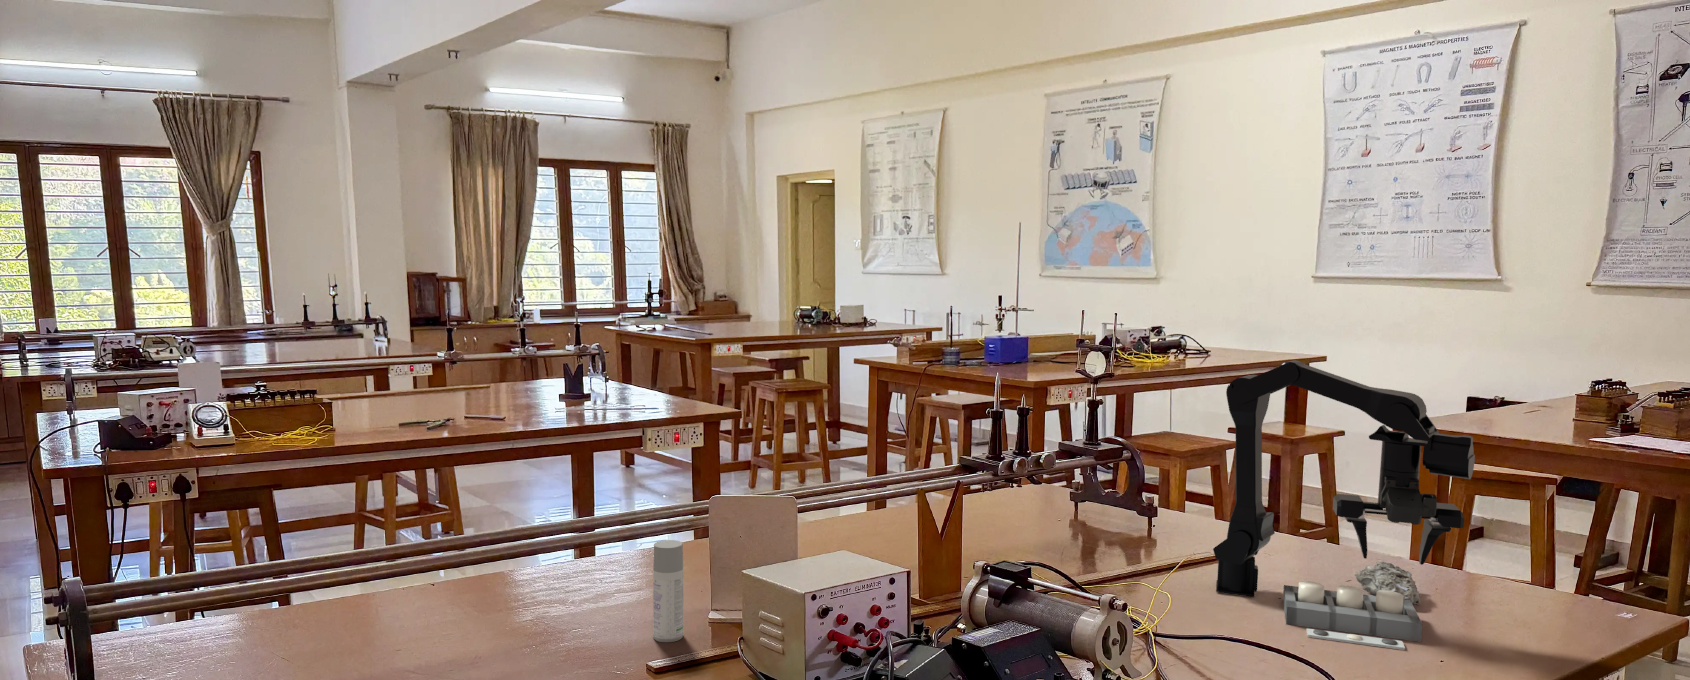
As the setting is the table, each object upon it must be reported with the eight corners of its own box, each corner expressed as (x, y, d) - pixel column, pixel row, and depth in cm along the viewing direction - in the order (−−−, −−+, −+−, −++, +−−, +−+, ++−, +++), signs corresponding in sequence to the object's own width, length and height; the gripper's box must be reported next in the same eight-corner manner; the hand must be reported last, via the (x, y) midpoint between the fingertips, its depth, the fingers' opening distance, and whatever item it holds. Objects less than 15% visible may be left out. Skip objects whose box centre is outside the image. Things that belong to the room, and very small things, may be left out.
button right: (1376, 617, 172) (1378, 596, 171) (1373, 609, 175) (1375, 588, 175) (1403, 620, 170) (1405, 599, 170) (1400, 612, 174) (1401, 592, 174)
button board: (1286, 623, 173) (1287, 606, 173) (1282, 601, 184) (1283, 584, 184) (1420, 641, 166) (1422, 623, 166) (1408, 617, 177) (1410, 600, 177)
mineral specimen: (1412, 593, 192) (1434, 611, 180) (1349, 590, 194) (1367, 607, 182) (1412, 562, 192) (1434, 577, 180) (1349, 559, 194) (1367, 574, 182)
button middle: (1337, 612, 174) (1338, 591, 173) (1334, 604, 177) (1336, 584, 177) (1363, 615, 172) (1364, 594, 172) (1360, 607, 176) (1361, 587, 176)
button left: (1298, 607, 176) (1299, 586, 176) (1296, 600, 180) (1298, 579, 179) (1324, 610, 174) (1325, 589, 174) (1322, 603, 178) (1323, 582, 178)
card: (1307, 636, 167) (1308, 633, 167) (1306, 630, 170) (1306, 627, 170) (1404, 650, 162) (1405, 646, 162) (1401, 643, 165) (1402, 639, 165)
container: (647, 639, 161) (647, 546, 160) (662, 629, 166) (662, 538, 164) (673, 644, 160) (674, 549, 158) (688, 633, 164) (688, 541, 163)
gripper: (1344, 474, 166) (1337, 568, 168) (1476, 485, 160) (1468, 582, 162) (1335, 460, 177) (1329, 549, 178) (1458, 470, 171) (1451, 562, 172)
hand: (1392, 560), depth 172 cm, fingers open, 8 cm apart
